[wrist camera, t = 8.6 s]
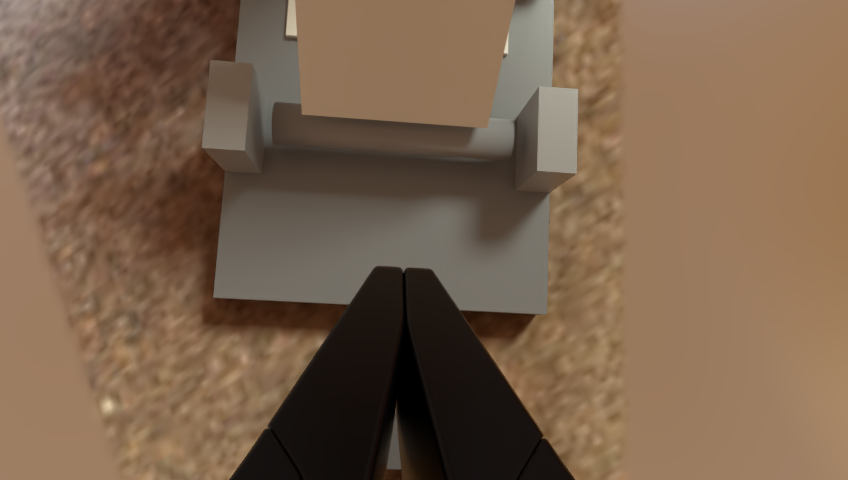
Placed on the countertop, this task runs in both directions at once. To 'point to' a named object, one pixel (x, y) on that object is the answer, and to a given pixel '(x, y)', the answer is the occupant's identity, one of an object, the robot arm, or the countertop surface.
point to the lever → (399, 78)
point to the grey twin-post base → (384, 183)
